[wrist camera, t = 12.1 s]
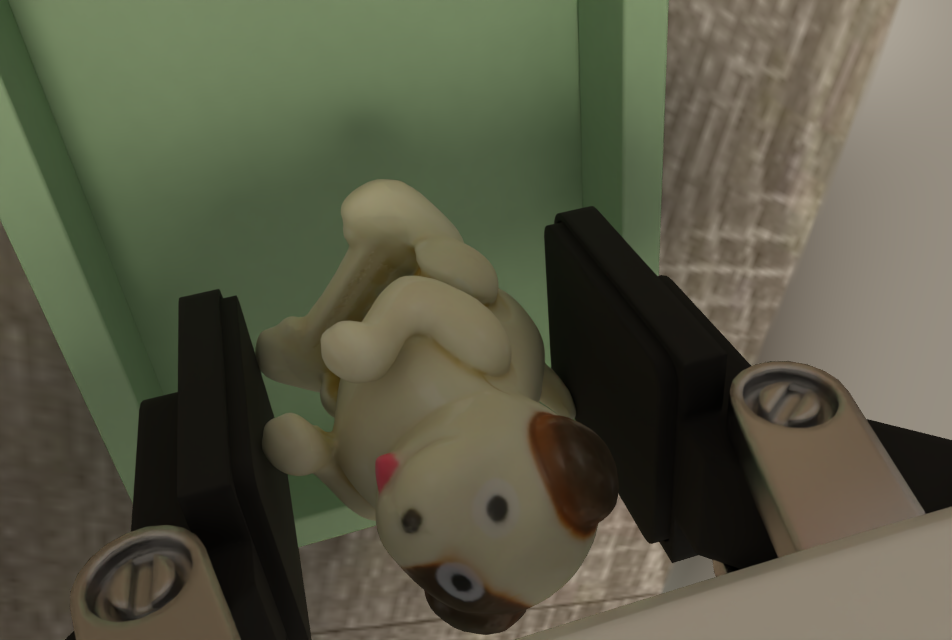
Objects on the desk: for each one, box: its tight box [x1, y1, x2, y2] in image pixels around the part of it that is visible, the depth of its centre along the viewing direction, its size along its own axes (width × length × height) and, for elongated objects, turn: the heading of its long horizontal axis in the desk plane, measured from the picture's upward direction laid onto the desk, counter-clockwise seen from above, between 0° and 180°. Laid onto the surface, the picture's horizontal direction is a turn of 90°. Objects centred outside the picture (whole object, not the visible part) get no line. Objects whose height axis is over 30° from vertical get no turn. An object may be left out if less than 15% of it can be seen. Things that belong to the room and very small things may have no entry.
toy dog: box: [255, 179, 619, 635], centre depth 11 cm, size 4×5×5 cm
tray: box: [0, 0, 669, 547], centre depth 16 cm, size 13×11×3 cm
